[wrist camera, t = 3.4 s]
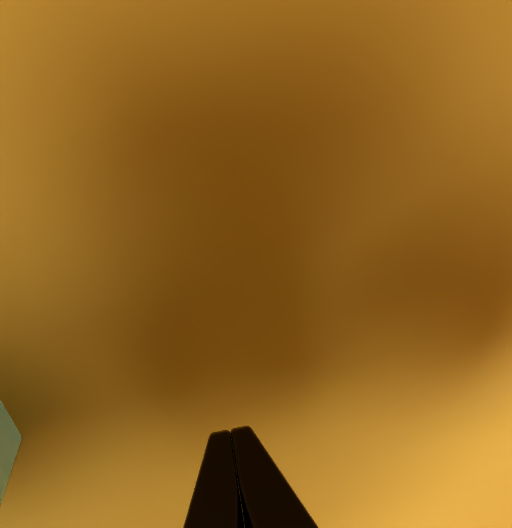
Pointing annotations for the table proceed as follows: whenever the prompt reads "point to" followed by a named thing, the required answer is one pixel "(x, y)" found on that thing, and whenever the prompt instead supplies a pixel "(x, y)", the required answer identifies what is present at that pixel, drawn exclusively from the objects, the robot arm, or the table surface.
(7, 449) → the t block
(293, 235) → the table surface
